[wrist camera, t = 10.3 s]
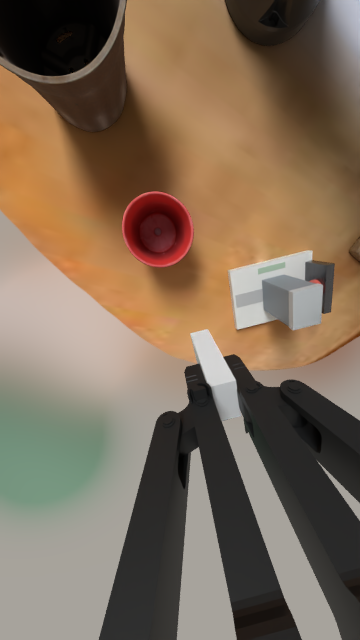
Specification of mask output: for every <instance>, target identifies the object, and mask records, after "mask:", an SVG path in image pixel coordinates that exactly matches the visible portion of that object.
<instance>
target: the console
mask: <svg viewBox="0 0 360 640" xmlns="http://www.w3.org/2000/svg"><path fill="white" fill-rule="evenodd" d="M334 266H335V264H334V263H327V262H321V261H314V260H312V251H310V250H306V251H303V252H299V253H295V254H291V255H287V256H283V257H279V258H275V259H271V260H267V261H263V262H259V263H255V264H251V265H247V266H243V267H239V268H235V269H231V270H228V277H229V285H230V293H231V300H232V308H233V316H234V323H235V328H236V329H237V330H238V329H242V328H246V327H250V326H254V325H258V324H262V323H265V322H269V321H273V320H277V318H275V317H274V316H272V315H271V314H270V313H268V312H267V311H265V310H264V305H263V290H262V280H264V279H268V278H272V277H276V276H280V275H288V276H291V277H295V278H298V279H301V280H305V281H308V282H312V283H315V284H317V283H318V284H322V285H323V296H322V313H323V314H325V313H329V312H331V304H332V291H333V279H334Z"/></svg>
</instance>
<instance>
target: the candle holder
mask: <svg viewBox="0 0 360 640" xmlns="http://www.w3.org/2000/svg"><path fill="white" fill-rule="evenodd" d="M349 253H350V254H351V255H352V256H353V257H355V258H356V259H357V260H358V261H359V262H360V237H359V238H358V240H357V241H356V242H355V243H354V245H353V246H352V247H351V249H350V250H349Z"/></svg>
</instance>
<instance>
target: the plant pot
mask: <svg viewBox="0 0 360 640" xmlns="http://www.w3.org/2000/svg"><path fill="white" fill-rule="evenodd" d="M126 3H127V0H0V65H1V66H3V67H4V68H6V69H7V70H9V71H11V72H12V73H14V74H16V75H17V76H18V77H19V78H21V79H22V80H23V81H25V82H26V83H28V84H29V85H31V86H32V87H33V88H34V89H35V90H36V91H37V92H38V93H39V94H40V95H41V96H42V97H43V98H44V99H45V100H46V101H47V102H48V103H49V104H50V105H51V106H52V107H53V108H54V109H55V110H57V111H58V113H59V114H60V115H61V116H62V117H63V118H64V119H65V120H67V121H68V122H69V123H70V124H72V125H74V126H76V127H78V128H80V129H83V130H85V131H90V132H96V131H101V130H104V129H106V128H108V127H110V126H111V125H112V124H113V123H115V122H116V120H117V119H118V118H119V116H120V115H121V113H122V111H123V107H124V102H125V98H126V92H127V85H126V74H125V58H124V41H123V35H124V26H125V9H126ZM68 31H72V32H73V34H72V35H71V36H70V37H68V38H66V39H65V40H63V41H62V42H61V43H58V42H57V40H56V39H57V38H58V37H59V36H60V35H61V34H63V33H65V32H68ZM85 59H87V60H88V61H89V64H88V65H86V64H85V62H84V60H85ZM70 68H73V70H74V73H70V72H69V69H70Z"/></svg>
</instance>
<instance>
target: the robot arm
mask: <svg viewBox="0 0 360 640" xmlns="http://www.w3.org/2000/svg"><path fill="white" fill-rule="evenodd" d="M319 1H320V0H226V4H227V7H228V10H229V12H230V15H231V17H232V19H233V21H234V22H235V24H236V26H237V27H238V28H239V30H240V31H241V32H242V33H243V34H244V35H245V36H246V37H247V38H248V39H250V40H251V41H253V42H255V43H257V44H261V45H266V46H271V45H277V44H280V43H283V42H285V41H286V40H288V39H290V38H291V37H292V36H294V35H295V34H296V33H297V32H298V31H299V30H300V29H301V28H302V26H303V25H304V24H305V22H306V21H307V20H308V18H309V17H310V15H311V14H312V12H313V11H314V9H315V8H316V6H317V5H318V3H319ZM190 334H191V339H192V343H193V347H194V351H195V356H196V360H197V363H198V364H196V365H192V366H188V367H186V369H185V372H184V373H185V378H186V383H187V388H188V390H187V394H188V398H189V404H188V406H187V407H186V408H185V409H184V410H182V411H181V412H179V413H176V412H174V411H168V412H165V413H163V414H162V415H160V417H159V418H158V419H157V421H156V425H155V429H154V432H153V437H152V440H151V444H150V447H149V451H148V455H147V459H146V463H145V466H144V470H143V474H142V478H141V482H140V485H139V489H138V493H137V497H136V500H135V504H134V508H133V512H132V516H131V520H130V523H129V527H128V531H127V535H126V538H125V542H124V546H123V550H122V554H121V557H120V561H119V565H118V569H117V572H116V576H115V580H114V584H113V588H112V591H111V595H110V599H109V603H108V607H107V610H106V614H105V618H104V622H103V626H102V630H101V633H100V637H99V640H177V627H178V626H177V625H178V614H179V613H178V612H179V600H180V587H181V575H182V561H183V547H184V536H185V522H186V509H187V495H188V483H189V470H190V456H191V452H192V451H193V450H194V449H196V448H198V447H199V449H200V454H201V459H202V464H203V469H204V474H205V479H206V484H207V489H208V493H209V499H210V503H211V508H212V513H213V518H214V523H215V528H216V533H217V538H218V543H219V548H220V553H221V558H222V562H223V567H224V572H225V577H226V582H227V587H228V592H229V596H230V602H231V607H232V612H233V618H234V624H235V631H236V636H237V640H302V639H301V637H300V634H299V631H298V629H297V626H296V624H295V621H294V619H293V616H292V614H291V612H290V610H289V608H288V606H287V603H286V601H285V599H284V596H283V593H282V591H281V588H280V585H279V582H278V579H277V576H276V574H275V571H274V568H273V565H272V562H271V560H270V557H269V554H268V551H267V548H266V546H265V543H264V540H263V537H262V534H261V532H260V528H259V526H258V523H257V520H256V517H255V514H254V512H253V509H252V506H251V503H250V500H249V497H248V495H247V492H246V489H245V486H244V484H243V480H242V478H241V475H240V472H239V469H238V467H237V464H236V461H235V458H234V455H233V452H232V449H231V447H230V444H229V441H228V438H227V435H226V433H225V430H224V427H223V424H222V421H224V420H228V419H232V418H236V417H240V416H241V413H242V415H243V417H244V424H245V431H246V433H248V432H249V434H250V437H251V438H252V441H253V443H254V445H255V447H256V449H257V452H258V454H259V456H260V458H261V460H262V462H263V464H264V467H265V469H266V471H267V473H268V475H269V477H270V479H271V481H272V484H273V486H274V488H275V490H276V492H277V494H278V497H279V499H280V501H281V503H282V505H283V507H284V509H285V512H286V514H287V516H288V518H289V520H290V522H291V524H292V527H293V529H294V531H295V533H296V535H297V537H298V539H299V541H300V544H301V546H302V548H303V550H304V552H305V554H306V557H307V559H308V561H309V563H310V565H311V567H312V569H313V572H314V574H315V576H316V578H317V580H318V582H319V585H320V587H321V589H322V591H323V593H324V595H325V597H326V600H327V602H328V604H329V606H330V608H331V610H332V613H333V615H334V617H335V620H336V622H337V625H338V628H339V632H340V635H341V638H342V640H360V521H359V519H358V518H357V516H356V515H355V514H354V512H353V511H352V509H351V508H350V507H349V505H348V504H347V502H346V501H345V500H344V498H343V497H342V495H341V494H340V493H339V491H338V490H337V488H336V487H335V486H334V484H333V483H332V481H331V480H330V479H329V477H328V476H327V474H326V473H325V472H324V470H323V469H322V467H321V466H320V465H319V464H318V462H319V463H320V464H321V465H322V466H323V467H324V468H325V469H326V470H327V471H328V472H329V473H330V474H331V475H332V476H333V477H334V478H335V479H336V480H337V481H338V482H339V483H340V484H341V485H342V486H343V487H344V488H345V489H346V490H347V491H348V492H349V493H350V494H351V495H352V496H353V497H354V498H355V499H356V500H357V501H358V502H360V421H359V420H358V419H356V418H355V417H353V416H352V415H350V414H349V413H347V412H346V411H344V410H343V409H341V408H340V407H338V406H337V405H335V404H334V403H332V402H331V401H329V400H328V399H327V398H325V397H324V396H322V395H321V394H319V393H318V392H316V391H314V390H313V389H312V388H310V387H309V386H307V385H306V384H304V383H302V382H300V381H297V380H286V381H284V382H282V383H281V385H280V387H266V386H263V385H262V384H261V383H260V382H257V381H255V379H254V378H253V377H252V375H251V373H250V372H249V371H248V369H247V368H246V367H245V365H244V363H243V362H242V360H241V359H240V357H238V356H236V355H234V354H233V355H229V356H225V357H223V356H222V354H221V352H220V351H219V349H218V347H217V345H216V343H215V342H214V340H213V338H212V336H211V334H210V332H209V331H208V329H206V330H202V331H198V332H194V333H190ZM240 411H241V412H240ZM317 461H318V462H317Z"/></svg>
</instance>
